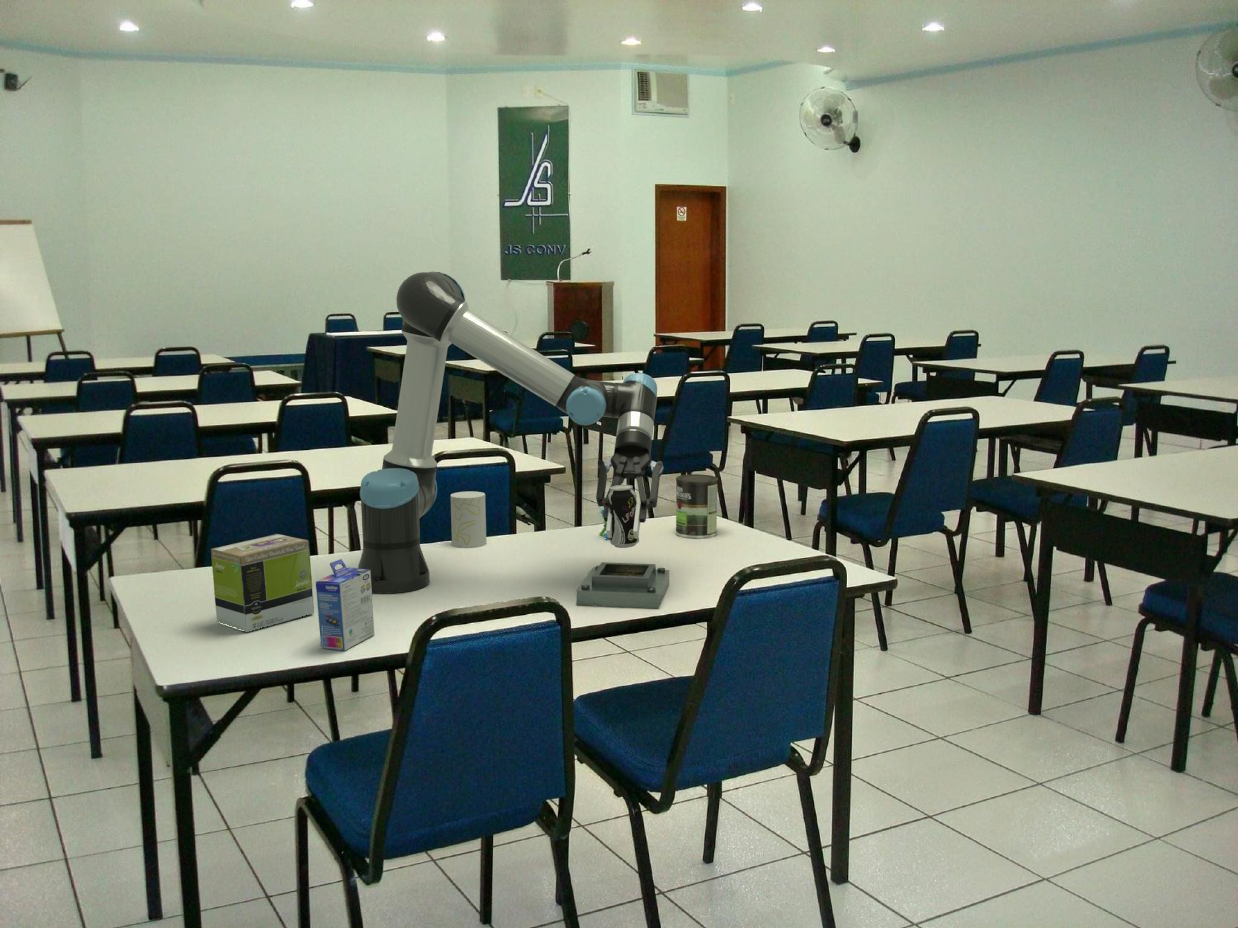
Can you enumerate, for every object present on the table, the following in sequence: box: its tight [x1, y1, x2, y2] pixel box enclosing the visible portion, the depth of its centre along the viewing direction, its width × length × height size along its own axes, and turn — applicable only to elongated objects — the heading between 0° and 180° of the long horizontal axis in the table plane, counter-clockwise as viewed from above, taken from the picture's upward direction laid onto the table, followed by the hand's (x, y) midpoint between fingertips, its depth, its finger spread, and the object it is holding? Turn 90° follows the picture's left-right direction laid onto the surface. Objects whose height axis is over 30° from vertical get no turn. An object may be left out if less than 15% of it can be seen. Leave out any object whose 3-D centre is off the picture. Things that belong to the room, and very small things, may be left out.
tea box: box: [210, 533, 315, 633], centre depth 216 cm, size 15×10×15 cm
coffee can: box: [675, 473, 719, 540], centre depth 285 cm, size 10×10×14 cm
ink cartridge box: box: [315, 558, 375, 652], centre depth 203 cm, size 10×6×14 cm, turn 160°
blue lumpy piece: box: [599, 508, 610, 540], centre depth 281 cm, size 11×6×10 cm
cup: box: [450, 490, 487, 549], centre depth 276 cm, size 8×8×12 cm
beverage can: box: [607, 484, 640, 549], centre depth 230 cm, size 6×6×12 cm
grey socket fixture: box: [576, 561, 670, 610], centre depth 232 cm, size 18×16×5 cm
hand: (622, 534), depth 227 cm, fingers closed on beverage can, 5 cm apart
